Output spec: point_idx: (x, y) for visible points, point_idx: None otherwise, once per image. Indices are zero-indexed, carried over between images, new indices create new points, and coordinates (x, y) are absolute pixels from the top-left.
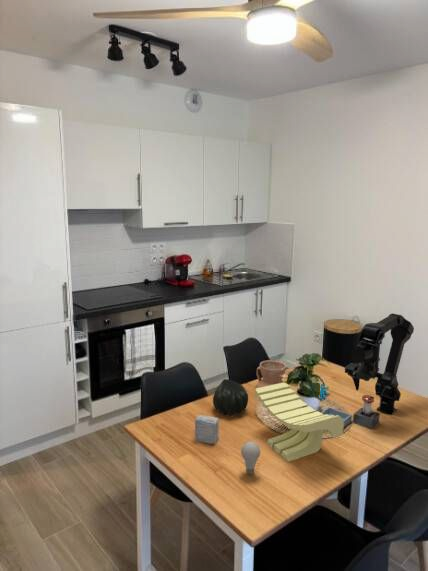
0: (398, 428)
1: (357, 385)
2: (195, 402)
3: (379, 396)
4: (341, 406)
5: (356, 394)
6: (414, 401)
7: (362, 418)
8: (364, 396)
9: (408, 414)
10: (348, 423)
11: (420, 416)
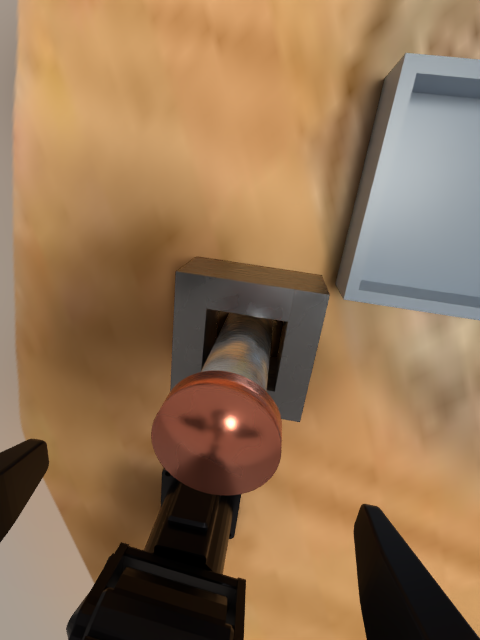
0: (90, 355)
1: (391, 599)
2: None
3: (30, 445)
4: (435, 442)
5: None
6: None
7: (254, 279)
8: (258, 449)
9: (110, 501)
10: (347, 239)
11: (66, 504)
